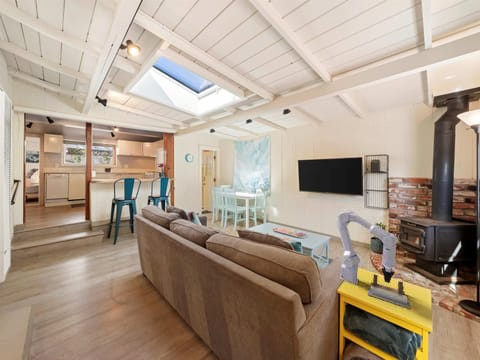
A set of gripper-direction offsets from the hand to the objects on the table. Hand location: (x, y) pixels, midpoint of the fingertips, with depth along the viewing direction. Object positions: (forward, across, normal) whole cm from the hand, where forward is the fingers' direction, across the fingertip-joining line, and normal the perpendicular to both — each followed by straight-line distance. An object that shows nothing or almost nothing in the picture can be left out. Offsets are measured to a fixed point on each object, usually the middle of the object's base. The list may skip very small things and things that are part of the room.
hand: (386, 279), depth 112 cm
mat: (+9, -2, -1) cm, 10 cm away
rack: (+9, +6, -1) cm, 11 cm away
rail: (+9, -2, -1) cm, 9 cm away
